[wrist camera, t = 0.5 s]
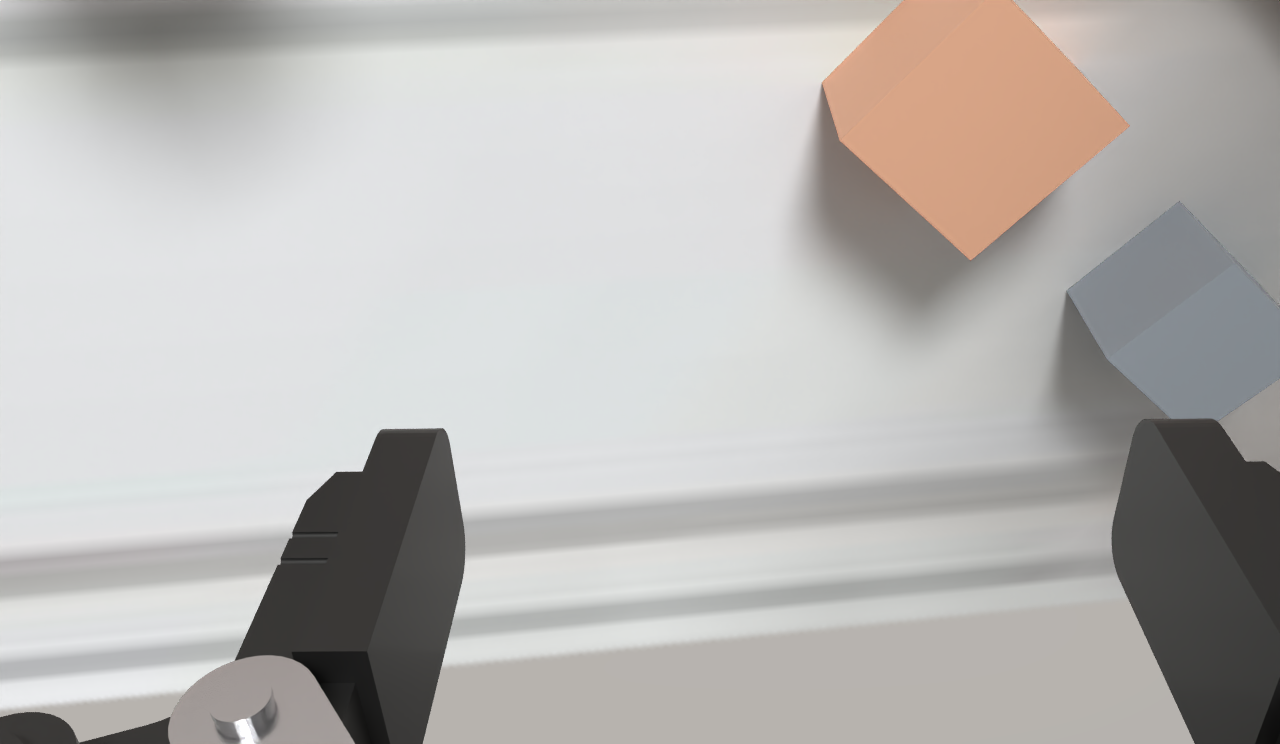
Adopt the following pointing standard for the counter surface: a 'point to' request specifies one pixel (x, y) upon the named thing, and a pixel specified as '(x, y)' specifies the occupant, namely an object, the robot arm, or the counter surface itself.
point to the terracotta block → (968, 114)
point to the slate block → (1182, 319)
